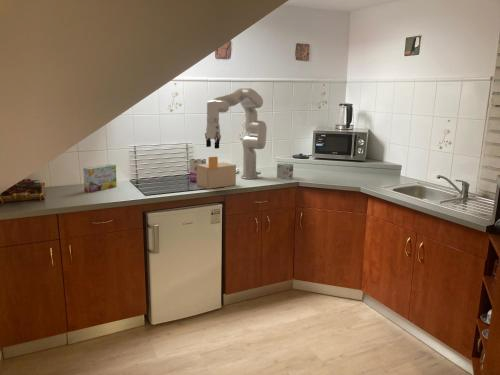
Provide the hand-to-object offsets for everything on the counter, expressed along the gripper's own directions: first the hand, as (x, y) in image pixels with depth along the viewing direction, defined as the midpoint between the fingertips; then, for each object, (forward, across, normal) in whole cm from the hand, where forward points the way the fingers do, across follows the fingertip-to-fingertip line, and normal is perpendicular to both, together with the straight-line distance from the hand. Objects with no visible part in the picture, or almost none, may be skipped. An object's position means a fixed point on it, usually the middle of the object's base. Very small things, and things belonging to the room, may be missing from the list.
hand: (212, 147), depth 271 cm
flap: (+27, 0, -8) cm, 28 cm away
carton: (+27, +8, -8) cm, 29 cm away
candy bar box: (+27, +25, -4) cm, 37 cm away
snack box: (+28, +38, +60) cm, 76 cm away
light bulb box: (+26, +1, -65) cm, 70 cm away
